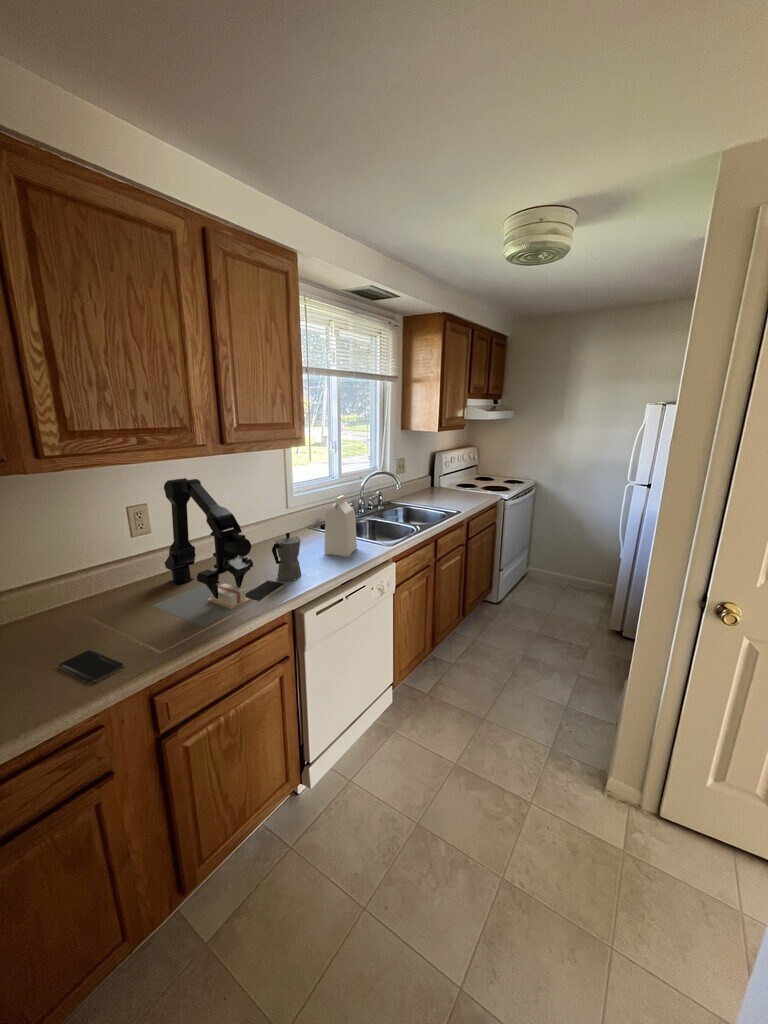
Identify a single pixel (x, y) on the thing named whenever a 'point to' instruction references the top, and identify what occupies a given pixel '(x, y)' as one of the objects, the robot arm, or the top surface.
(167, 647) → the top surface
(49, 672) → the top surface
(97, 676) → the phone
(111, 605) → the top surface
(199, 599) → the mat
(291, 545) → the coffeepot
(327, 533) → the milk
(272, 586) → the smartphone
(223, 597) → the card box
